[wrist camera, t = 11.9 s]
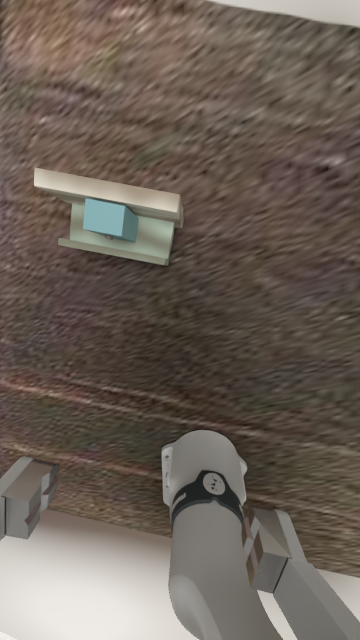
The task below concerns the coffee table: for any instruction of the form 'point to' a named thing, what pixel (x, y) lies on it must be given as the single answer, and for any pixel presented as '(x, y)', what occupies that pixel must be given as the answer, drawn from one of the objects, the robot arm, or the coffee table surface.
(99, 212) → the teal rectangular block
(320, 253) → the coffee table surface
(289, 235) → the coffee table surface
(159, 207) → the wall shelf
